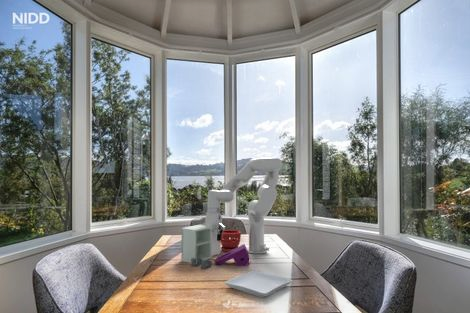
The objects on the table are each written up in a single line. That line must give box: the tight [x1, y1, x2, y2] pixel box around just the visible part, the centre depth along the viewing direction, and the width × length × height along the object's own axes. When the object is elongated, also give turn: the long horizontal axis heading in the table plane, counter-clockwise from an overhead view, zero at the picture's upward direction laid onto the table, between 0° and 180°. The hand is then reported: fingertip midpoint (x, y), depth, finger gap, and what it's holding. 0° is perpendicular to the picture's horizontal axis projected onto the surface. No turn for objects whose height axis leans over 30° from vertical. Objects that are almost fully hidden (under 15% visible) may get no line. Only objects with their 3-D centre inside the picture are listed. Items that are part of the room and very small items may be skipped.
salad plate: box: [224, 270, 293, 298], centre depth 134 cm, size 21×21×3 cm
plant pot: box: [221, 229, 242, 253], centre depth 198 cm, size 13×13×12 cm
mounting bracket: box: [214, 243, 250, 267], centre depth 169 cm, size 9×8×18 cm
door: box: [212, 230, 222, 257], centre depth 188 cm, size 10×3×14 cm, turn 145°
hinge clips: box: [190, 258, 213, 270], centre depth 164 cm, size 9×5×4 cm, turn 55°
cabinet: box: [180, 224, 213, 264], centre depth 177 cm, size 10×14×18 cm
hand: (212, 239), depth 188 cm, fingers open, 9 cm apart
